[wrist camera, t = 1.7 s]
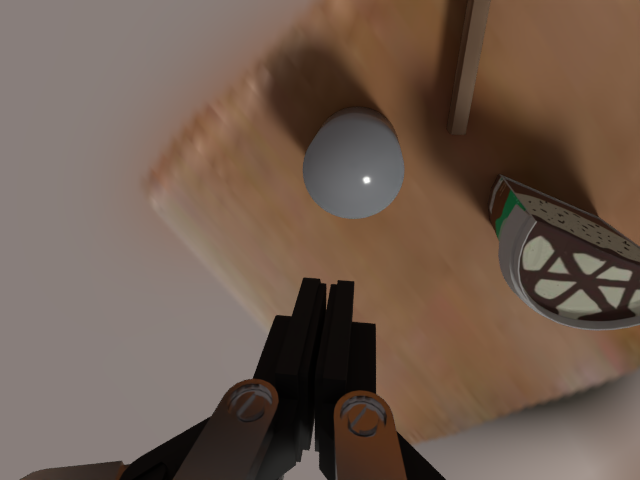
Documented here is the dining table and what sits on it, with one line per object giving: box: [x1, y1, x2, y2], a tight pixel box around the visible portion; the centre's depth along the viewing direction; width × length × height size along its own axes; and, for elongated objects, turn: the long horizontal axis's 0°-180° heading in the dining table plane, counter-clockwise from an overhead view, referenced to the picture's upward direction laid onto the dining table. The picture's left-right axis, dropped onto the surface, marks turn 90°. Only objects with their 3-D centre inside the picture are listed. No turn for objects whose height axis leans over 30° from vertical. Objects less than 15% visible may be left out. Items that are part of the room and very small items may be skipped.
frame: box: [447, 0, 491, 135], centre depth 24 cm, size 16×12×2 cm
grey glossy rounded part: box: [303, 107, 404, 219], centre depth 28 cm, size 7×7×6 cm
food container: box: [488, 174, 640, 330], centre depth 27 cm, size 12×6×10 cm, turn 69°
